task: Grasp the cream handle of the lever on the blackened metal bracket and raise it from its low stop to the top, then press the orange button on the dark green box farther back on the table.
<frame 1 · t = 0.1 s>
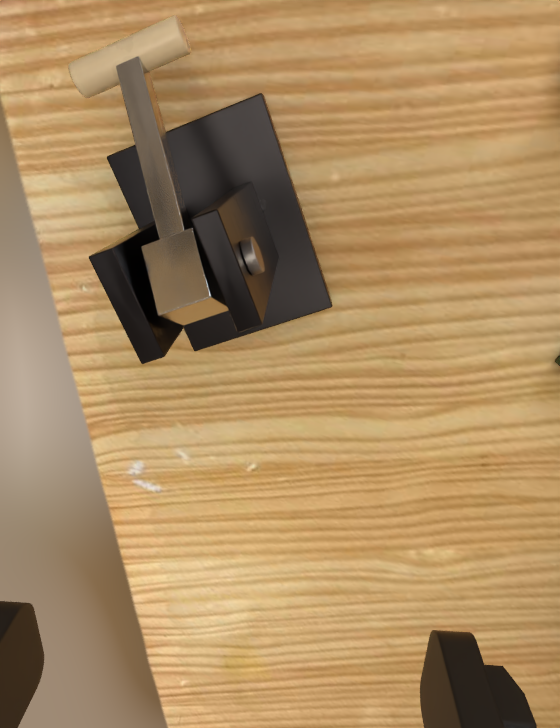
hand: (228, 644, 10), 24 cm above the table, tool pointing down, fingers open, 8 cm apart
bracket: (227, 231, 30), on the table
lever: (159, 172, 21), point 9 cm above the table, hinge at -30.0°
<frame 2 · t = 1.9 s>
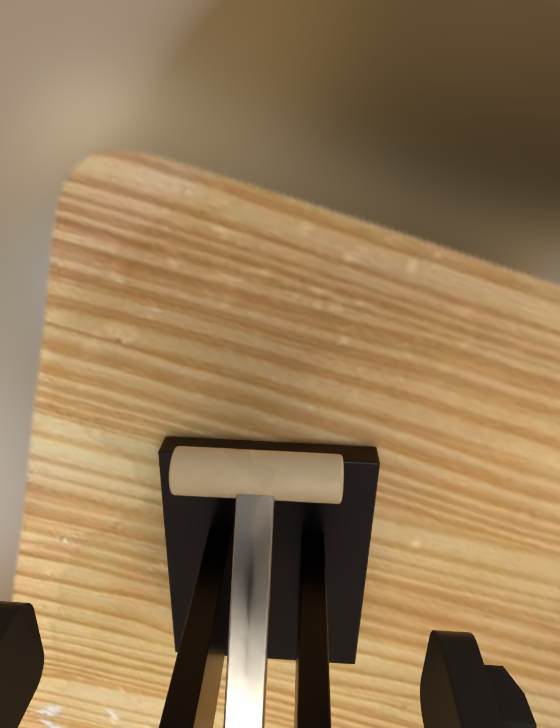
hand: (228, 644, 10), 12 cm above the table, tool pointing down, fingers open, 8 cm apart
bracket: (268, 549, 24), on the table
lever: (247, 662, 15), point 9 cm above the table, hinge at -30.0°
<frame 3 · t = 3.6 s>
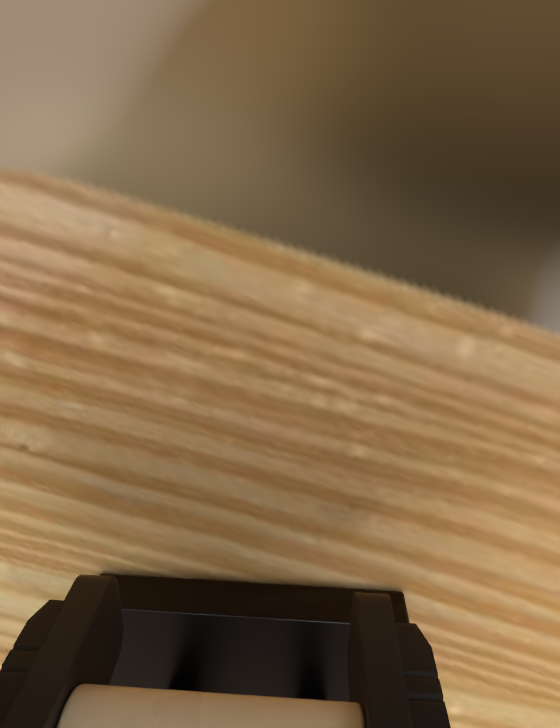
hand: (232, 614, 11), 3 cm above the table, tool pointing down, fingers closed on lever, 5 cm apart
bracket: (249, 712, 18), on the table
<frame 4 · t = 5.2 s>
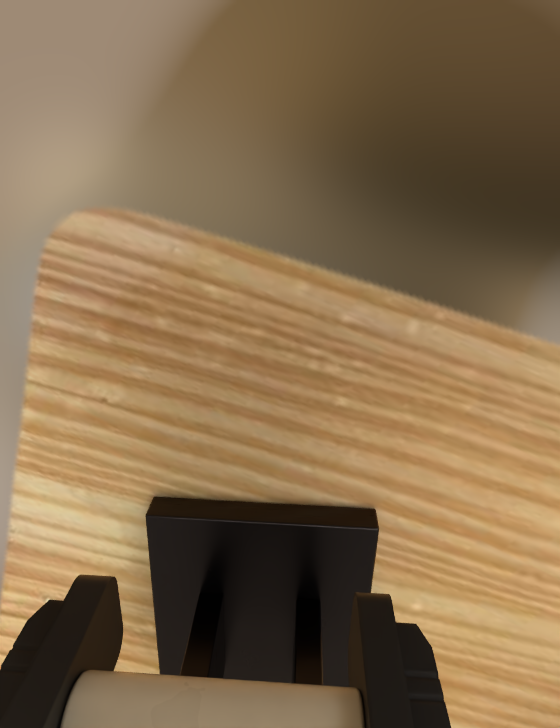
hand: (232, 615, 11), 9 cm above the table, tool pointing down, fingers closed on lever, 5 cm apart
bracket: (261, 610, 23), on the table
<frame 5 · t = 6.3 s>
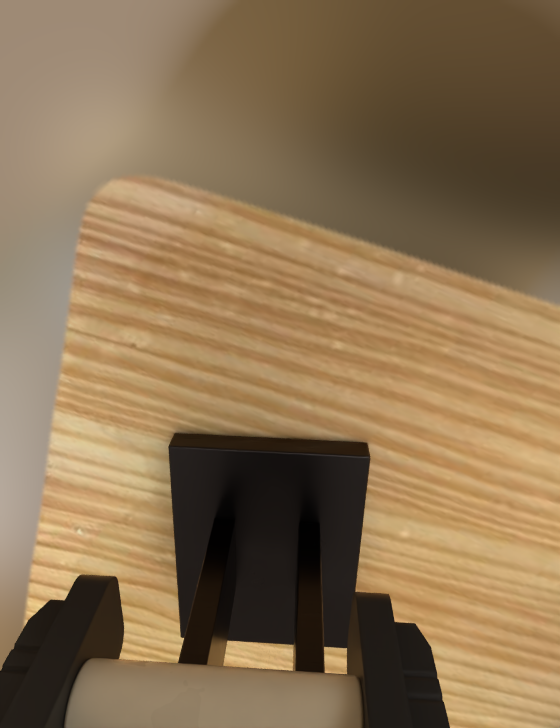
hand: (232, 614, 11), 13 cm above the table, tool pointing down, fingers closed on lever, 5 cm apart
bracket: (267, 539, 26), on the table
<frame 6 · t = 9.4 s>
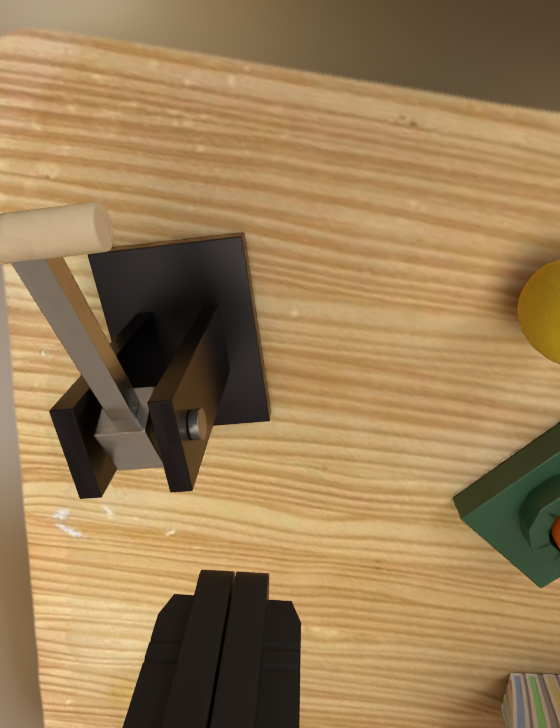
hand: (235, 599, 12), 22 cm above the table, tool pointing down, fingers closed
bracket: (188, 335, 33), on the table
lemon: (545, 288, 31), on the table
button box: (556, 490, 36), on the table
lever: (94, 357, 19), point 13 cm above the table, hinge at 22.9°
vase: (533, 689, 46), on the table
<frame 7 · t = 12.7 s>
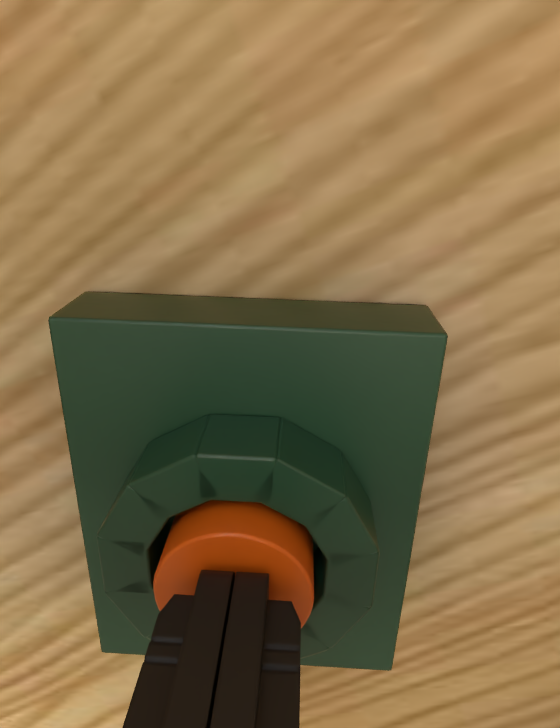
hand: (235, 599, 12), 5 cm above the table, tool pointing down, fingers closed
button box: (253, 472, 16), on the table
button: (237, 567, 12), point 4 cm above the table, slide at -0.6 cm, touching gripper
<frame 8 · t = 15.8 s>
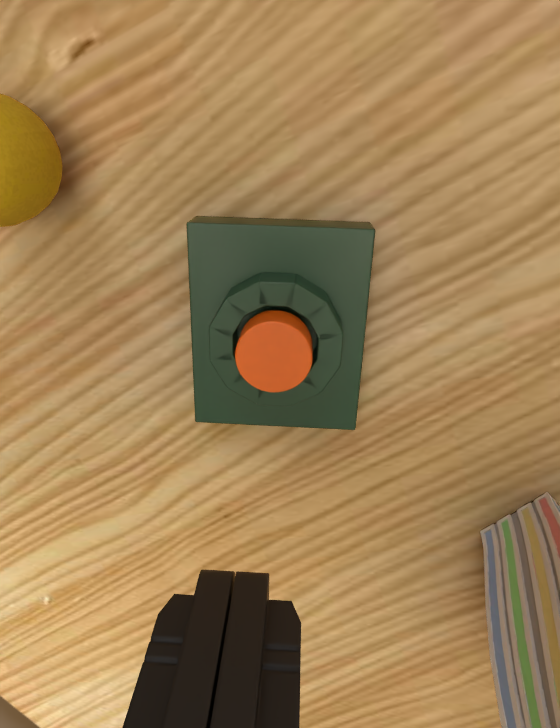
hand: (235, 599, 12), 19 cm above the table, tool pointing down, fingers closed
lemon: (35, 156, 26), on the table
button box: (279, 320, 29), on the table
vase: (532, 533, 34), on the table
button: (274, 351, 25), point 4 cm above the table, slide at 0.1 cm
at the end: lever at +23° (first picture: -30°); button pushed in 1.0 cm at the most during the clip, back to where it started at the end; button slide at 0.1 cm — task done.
